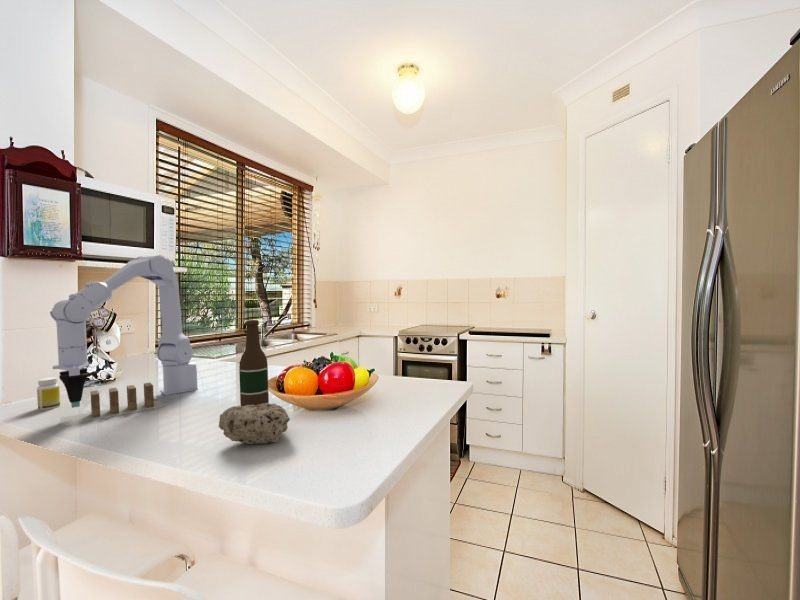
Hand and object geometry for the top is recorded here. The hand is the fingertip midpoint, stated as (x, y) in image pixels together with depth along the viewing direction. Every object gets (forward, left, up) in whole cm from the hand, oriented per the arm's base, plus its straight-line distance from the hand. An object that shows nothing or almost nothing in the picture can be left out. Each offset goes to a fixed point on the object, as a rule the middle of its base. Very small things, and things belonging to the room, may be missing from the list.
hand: (75, 399), depth 101 cm
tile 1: (-16, 0, -5) cm, 17 cm away
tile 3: (-8, 0, -5) cm, 9 cm away
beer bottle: (-38, +23, -5) cm, 44 cm away
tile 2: (-12, 0, -5) cm, 13 cm away
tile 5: (0, 0, -2) cm, 2 cm away
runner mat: (-8, 0, -5) cm, 10 cm away
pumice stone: (-29, +47, -6) cm, 55 cm away
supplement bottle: (+5, -19, -5) cm, 21 cm away
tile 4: (-4, 0, -5) cm, 6 cm away
